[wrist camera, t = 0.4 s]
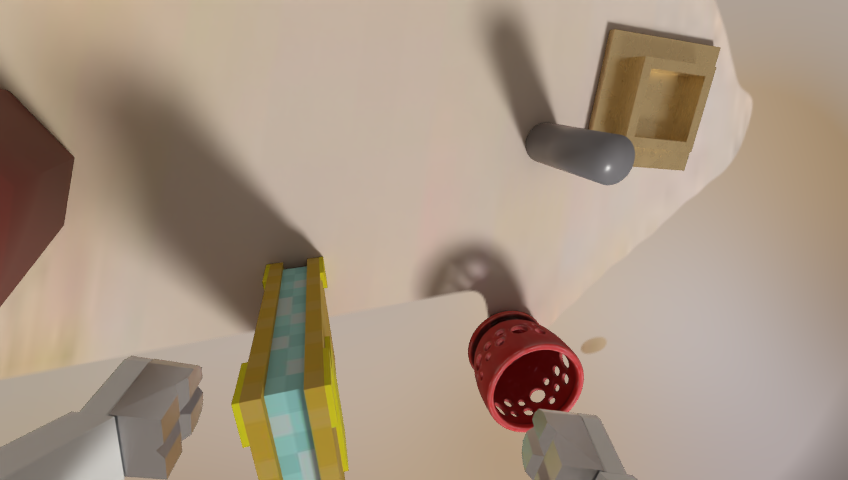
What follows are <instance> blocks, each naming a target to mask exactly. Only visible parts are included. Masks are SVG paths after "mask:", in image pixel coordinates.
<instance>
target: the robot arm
mask: <svg viewBox="0 0 848 480" xmlns="http://www.w3.org/2000/svg"><path fill="white" fill-rule="evenodd" d="M201 380H202V367H200V366H198V365H192V364H184V363H178V362H172V361H165V360H159V359H150V358H143V357H137V356H130V357H128V358H127V359H125V360H124V361H123V362H122V363H121V364H120V365H119V366H118V367H117V369H116V370H115V371H114V372H113V373H112V374H111V376H110V377H109V378H108V379H107V380H106V382H105V383H104V384H103V385H102V386H101V387H100V388H99V390H98V391H97V392H96V393H95V394H94V395H93V396H92V398H91V399H90V400H89V401H88V402H87V404H86V405H85V406H84V407H83V408H82V409H81V411H80V412H70V413H68V414H66V415H64V416H62V417H60V418H58V419H56V420H54V421H52V422H50V423H48V424H46V425H44V426H42V427H40V428H38V429H36V430H34V431H32V432H30V433H28V434H26V435H24V436H22V437H20V438H18V439H16V440H14V441H12V442H10V443H8V444H6V445H4V446H2V447H0V480H124V476H125V477H126V476H127V477H140V478H153V479H168V477H169V475H170V473H171V471H172V470H173V468H174V466H175V464H176V462H177V460H178V459H179V457H180V455H181V453H182V440H184V439H185V438H187V437H188V436H190V435H191V434H192V432H193V430H194V429H195V427H196V425H197V423H198V419H199V417H200V414H201V411H202V405H203V392H202V390H201V389H200V388H199V387H198V385H199V383H200V381H201ZM532 421H533V424H534V427H533V428H531V429H530V430H528V431H527V432H526V434H525V437H524V440H523V446H522V459H523V465H524V469H525V472H526V473H527V474H528V475H529V476H530V478H531V479H532V480H637V479H636V478H635V477H634V476H633V475H628V474H626V472H625V469H624V467H623V465H622V463H621V461H620V459H619V457H618V455H617V453H616V451H615V449H614V447H613V444H612V442H611V440H610V438H609V436H608V434H607V432H606V430H605V428H604V426H603V424H602V422H601V420H600V418H598V417H597V416H596V415H589V414H580V413H572V412H564V411H555V410H546V409H538V410H537V411H536V412H535V414H534V416H533V418H532Z"/></svg>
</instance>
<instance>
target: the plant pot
mask: <svg viewBox="0 0 848 480" xmlns="http://www.w3.org/2000/svg"><path fill="white" fill-rule="evenodd" d="M562 354H564V355H565V356H566V358H567V359H568V361H569V367H568V368H567V367H566V366H565V364H564V362H563V358H562ZM468 357H469V361H470V364H471V366H472V368H473V369H474V372H475V378H476V382H477V386H478V389H479V392H480V394H481V397H482V399H483V401H484V403H485V405H486V407H487V408H488V410H489V412H490V414H491V416H492V417H493V418H494V420H496V422H497V423H498V424H500V425H501V426H503V427H504V428H506V429H509V430H512V431H516V432H527V431H528V430H530V429H531V428H533V427H534V424H533V421H532V418H533V416H534V414H535V412H536V411H537V410H538V409H546V410H555V411H564V412H569V411H570V410H571V408H572V407H573V406H574V405H575V403H576V401H577V400H578V398H579V396H580V394H581V390H582V387H583V381H584V374H583V368H582V365H581V362H580V361H579V359H578V357H577V356H576V354H575V353H574V352H573V351H572V350H571V349H570V348H569V347H568V346H567V345H566V344H565V343H564V342H563V341H562V340H561V339H560V338H559V337H557V336H556V335H555V334H554V333H552V332H551V331H549V330H548V329H546V328H545V327H543V326H541V325H539V323H538V322H537V321H536V320H535V319H534V318H533V317H531V316H530V315H528V314H526V313H523V312H519V311H505V312H500V313H497V314H495V315H493V316H491V317H489V318H488V319H486V320H485V321H484V322H482V323H481V324H480V325H479V326H478V328H477V329H476V330H475V332H474V333H473V335H472V337H471V340H470V343H469V348H468ZM556 366H557V367H558V368H559V370H560V373H559V375H558V376H557V375H556V374H555V367H556ZM566 374H567V375H568V378H569V381H568V383H567V384H566V383H565V380H564V378H565V375H566ZM546 379H549V384H548V385H545V384H544V382H545V380H546ZM557 385H559V387H560V388H559V391H556V390H555V388H556V386H557ZM536 390H543V391H544V392H545V398H544V399H543V400H542V401H541V402H538V403H536V402H533V401H531V399H530V396H531V394H532V393H533V392H534V391H536ZM552 398H555V402H554V403H553V404H550V399H552ZM504 401H506V402H509V403H510V404H511V405H512V407H509V406H507V405H506V404H505V403H504ZM521 401H522V402H524V403H525V405H524V406H520V405H519V404H518V403H519V402H521ZM496 406H497V407H499V408H500V409H501V410H502V411H503V412H504V414H505V415H503V414H502V413H500V412H499V410H498V409H497V408H496ZM527 410H530V411H532V412H533V414H532V415H526V414H524V412H525V411H527ZM511 413H512V414H515V415H516V416H517V417H515V416H513V415H512V414H511Z"/></svg>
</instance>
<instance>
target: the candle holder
mask: <svg viewBox="0 0 848 480" xmlns="http://www.w3.org/2000/svg"><path fill="white" fill-rule="evenodd" d="M719 51H720V47H714V46H709V45H703V44H697V43H691V42H686V41H680V40H674V39H668V38H663V37H657V36H651V35H645V34H640V33H634V32H628V31H622V30H617V29H614V30H610V32H609V36H608V41H607V45H606V50H605V55H604V59H603V64H602V68H601V73H600V77H599V82H598V87H597V91H596V96H595V100H594V105H593V109H592V114H591V118H590V123H589V128H588V129H589V130H595V131H601V132H607V133H613V134H619V135H623V136H625V137H627V138H628V139H629V140H630V141H631V142H632V144H633V146H634V150H635V160H634V164H633V167H645V168H658V169H671V170H683V171H684V170H685V166H686V163H687V159H688V156H689V153H690V152H691V151H692V148H693V144H694V141H695V137H696V134H697V131H698V127H699V124H700V121H701V117H702V114H703V110H704V107H705V104H706V100H707V97H708V94H709V90H710V87H711V83H712V80H713V77H714V73H715V70H716V67H715V65H716V61H717V58H718V55H719Z"/></svg>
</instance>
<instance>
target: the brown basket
mask: <svg viewBox="0 0 848 480" xmlns="http://www.w3.org/2000/svg"><path fill="white" fill-rule="evenodd" d="M73 164H74V157H73V156H72V155H71V154H70V153H69V152H68V151H67V150H66V149H65V148H64V147H63V146H62V145H61V144H60V143H59V142H58V140H57V139H56V138H55V137H54V136H53V135H52V134H51V133H50V132H49V131H48V130H47V129H46V128H45V127H44V126H43V125H42V124H41V123H40V122H39V121H38V120H37V119H36V118H35V117H34V116H33V115H32V114H31V113H30V112H29V111H28V110H27V109H26V108H25V107H24V106H23V105H22V104H21V103H20V101H19V100H18V99H17V98H16V97H15V96H14V95H13V94H12V93H11V92H10V91H7V90H3V89H0V306H1V305H2V304H3V303H4V301H5V300H6V299H7V297H8V296H9V295H10V294H11V292H12V291H13V290H14V288H15V287H16V286H17V285H18V283H19V282H20V281H21V279H22V278H23V277H24V276H25V274H26V273H27V272H28V270H29V269H30V268H31V267H32V265H33V264H34V263H35V261H36V260H37V259H38V258H39V256H40V255H41V254H42V252H43V251H44V250H45V249H46V247H47V246H48V245H49V243H50V242H51V241H52V240H53V238H54V237H55V236H56V234H57V233H58V232H59V231H60V229H61V228H62V227H63V225H64V220H65V214H66V208H67V201H68V195H69V189H70V183H71V176H72V170H73Z"/></svg>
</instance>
